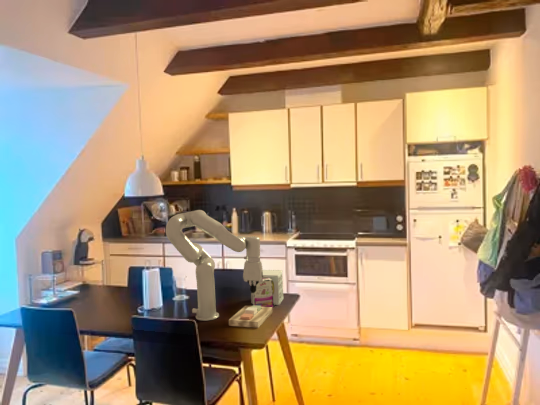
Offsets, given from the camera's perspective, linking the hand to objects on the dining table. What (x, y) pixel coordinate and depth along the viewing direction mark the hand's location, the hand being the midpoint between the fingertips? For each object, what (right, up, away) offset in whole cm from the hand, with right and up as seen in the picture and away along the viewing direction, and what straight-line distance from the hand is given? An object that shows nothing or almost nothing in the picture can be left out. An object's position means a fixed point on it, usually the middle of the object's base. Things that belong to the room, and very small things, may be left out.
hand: (253, 292), depth 243 cm
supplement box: (+8, -11, +24) cm, 28 cm away
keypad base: (-1, -13, -6) cm, 14 cm away
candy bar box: (+5, -12, +13) cm, 18 cm away
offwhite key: (-1, -11, -6) cm, 12 cm away
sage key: (+1, -11, +1) cm, 11 cm away
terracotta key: (-3, -12, -12) cm, 18 cm away
